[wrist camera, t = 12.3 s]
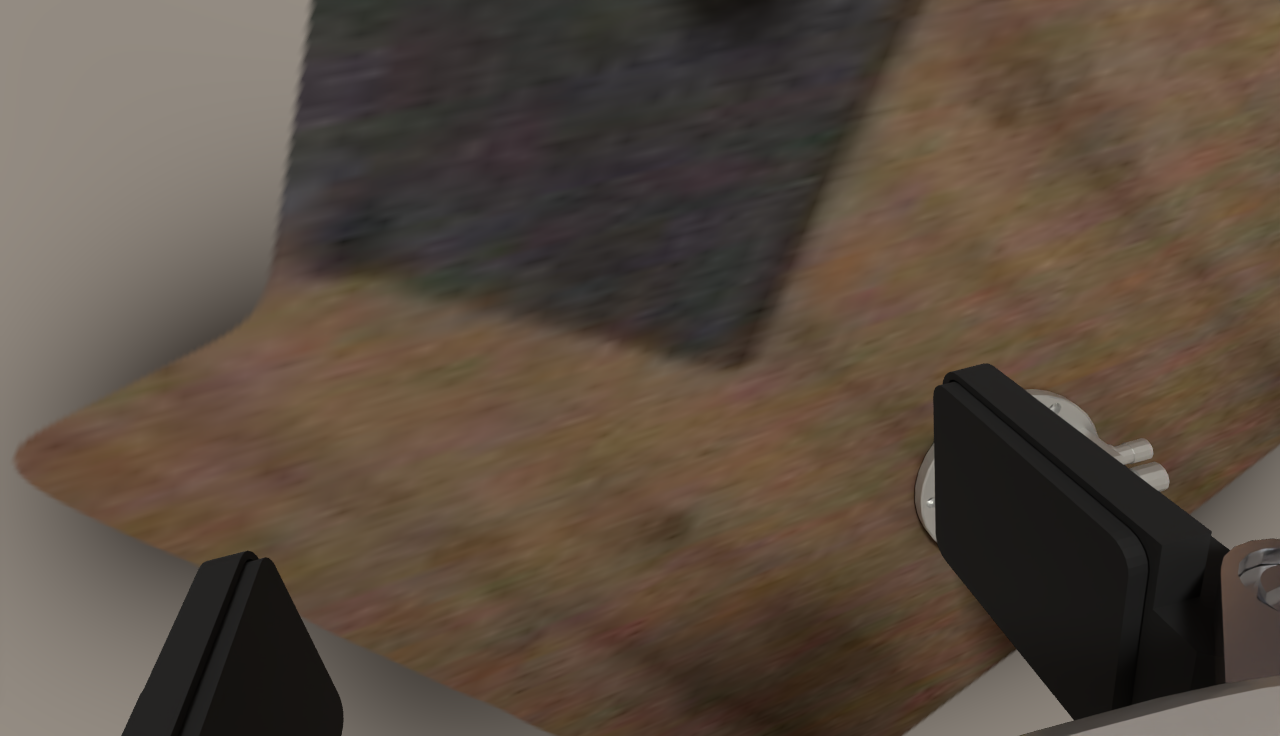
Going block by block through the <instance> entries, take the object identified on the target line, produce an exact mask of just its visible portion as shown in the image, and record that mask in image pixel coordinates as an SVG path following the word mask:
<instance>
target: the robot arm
mask: <svg viewBox="0 0 1280 736" xmlns="http://www.w3.org/2000/svg"><path fill="white" fill-rule="evenodd" d="M933 404H934V443H933V445H932V447H931V448H930V450H929V451H928V453H927V454H926V456H925V458H924V461H923V463H922V465H921V467H920V470H919V473H918V477H917V481H916V486H915V504H916V509H917V514H918V517H919V519H920V521H921V523H922V525H923V527H924V528H925V529H926V530H927V532H928V533H929V534H930V535H931V537H932V538H933V539H934V540H935V541H936V542H937V544H938V547H939V549H940V552H941V554H942V556H943V557H944V559H945V560H946V562H947V563H948V564H949V565H950V567H951V568H952V569H953V570H954V572H955V573H956V574H957V575H958V576H959V578H960V579H961V580H962V581H963V583H964V584H965V585H966V586H967V588H968V589H969V590H970V591H971V593H972V594H973V595H974V596H975V598H976V599H977V600H978V601H979V603H980V604H981V605H982V606H983V608H984V609H985V610H986V611H987V613H988V614H989V615H990V616H991V618H992V619H993V620H994V621H995V623H996V624H997V625H998V626H999V628H1000V629H1001V630H1002V631H1003V632H1004V634H1005V635H1006V636H1007V637H1008V639H1009V640H1010V641H1011V642H1012V644H1013V645H1014V646H1015V647H1016V649H1017V650H1018V651H1019V652H1020V654H1021V655H1022V656H1023V657H1024V659H1025V660H1026V661H1027V662H1028V664H1029V665H1030V666H1031V667H1032V669H1033V670H1034V671H1035V672H1036V674H1037V675H1038V676H1039V677H1040V679H1041V680H1042V681H1043V682H1044V683H1045V685H1046V686H1047V687H1048V688H1049V690H1050V691H1051V692H1052V693H1053V695H1055V697H1056V698H1057V700H1058V701H1059V702H1060V703H1061V705H1062V706H1063V707H1064V708H1065V710H1066V711H1067V712H1068V713H1069V714H1070V716H1071V717H1072V718H1073V719H1074V721H1071V722H1067V723H1064V724H1060V725H1056V726H1052V727H1049V728H1045V729H1041V730H1038V731H1034V732H1031V733H1027V734H1024V735H1020V736H1280V539H1274V538H1272V539H1261V540H1252V541H1248V542H1246V543H1243V544H1240V545H1238V546H1235V547H1234V548H1232V549H1231V550H1229V549H1228V548H1226V547H1225V546H1224V545H1222V544H1221V543H1220V542H1218V541H1217V540H1216V539H1215V538H1213V537H1212V536H1211V533H1212V532H1211V531H1210V530H1209V529H1207V528H1206V527H1205V526H1204V525H1202V524H1201V523H1200V522H1198V521H1197V520H1196V519H1195V518H1193V517H1192V516H1191V515H1189V514H1188V513H1187V512H1185V511H1184V510H1183V509H1181V508H1180V507H1179V506H1177V505H1176V504H1175V503H1173V502H1172V501H1171V500H1169V499H1168V498H1167V497H1165V496H1164V495H1163V494H1162V493H1160V491H1164V490H1165V489H1167V488H1168V486H1169V477H1168V474H1167V472H1166V470H1165V469H1164V468H1163V467H1162V466H1161V465H1160V464H1159V463H1156V462H1151V463H1148V464H1144V465H1140V466H1136V467H1133V468H1127V467H1126V466H1125V465H1124V464H1128V463H1130V464H1132V463H1136V462H1140V461H1143V460H1147V459H1150V458H1152V456H1153V448H1152V446H1151V444H1150V443H1149V442H1148V441H1147V440H1146V439H1143V438H1141V439H1138V440H1134V441H1130V442H1126V443H1123V444H1121V445H1119V446H1115V447H1113V446H1112V445H1109V444H1106V443H1105V442H1103V441H1102V440H1101V439H1099V438H1098V435H1097V431H1096V428H1095V425H1094V424H1093V422H1092V421H1091V419H1090V418H1089V416H1088V415H1087V414H1086V413H1085V412H1084V411H1083V410H1082V409H1081V408H1079V407H1078V406H1077V405H1076V404H1074V403H1073V402H1071V401H1070V400H1068V399H1067V398H1065V397H1064V396H1062V395H1059V394H1056V393H1053V392H1050V391H1045V390H1036V389H1028V390H1024V389H1023V388H1022V387H1020V386H1019V385H1018V384H1016V383H1015V382H1014V381H1012V380H1011V379H1010V378H1008V377H1007V376H1006V375H1004V374H1003V373H1002V372H1001V371H999V370H998V369H997V368H995V367H994V366H992V365H990V364H980V365H976V366H973V367H969V368H965V369H961V370H957V371H953V372H949V373H948V374H946V375H945V377H944V380H943V385H939V386H937V387H936V388H935V390H934V396H933ZM342 729H343V707H342V703H341V700H340V697H339V694H338V692H337V690H336V688H335V686H334V684H333V682H332V680H331V678H330V676H329V674H328V672H327V670H326V668H325V666H324V664H323V662H322V660H321V658H320V656H319V654H318V652H317V650H316V648H315V645H314V644H313V641H312V639H311V638H310V635H309V633H308V632H307V629H306V627H305V625H304V623H303V621H302V619H301V617H300V615H299V613H298V611H297V609H296V607H295V605H294V603H293V601H292V599H291V597H290V595H289V593H288V591H287V589H286V587H285V585H284V583H283V581H282V579H281V577H280V575H279V573H278V571H277V569H276V567H275V565H274V563H273V562H272V560H270V559H269V558H266V557H265V558H261V559H258V557H257V556H256V555H255V554H254V553H253V552H251V551H245V552H241V553H237V554H233V555H229V556H225V557H221V558H217V559H213V560H209V561H206V562H204V563H202V565H201V566H200V568H199V570H198V572H197V574H196V576H195V578H194V581H193V583H192V585H191V587H190V589H189V592H188V594H187V596H186V598H185V600H184V602H183V605H182V607H181V609H180V611H179V614H178V616H177V618H176V620H175V622H174V625H173V626H172V629H171V631H170V633H169V635H168V638H167V640H166V642H165V644H164V646H163V649H162V651H161V653H160V655H159V657H158V660H157V662H156V664H155V666H154V668H153V670H152V673H151V675H150V677H149V679H148V681H147V683H146V686H145V688H144V690H143V691H142V693H141V694H140V696H139V698H138V701H137V703H136V705H135V707H134V709H133V712H132V714H131V716H130V718H129V720H128V723H127V725H126V727H125V729H124V731H123V733H122V736H341V735H342Z"/></svg>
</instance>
